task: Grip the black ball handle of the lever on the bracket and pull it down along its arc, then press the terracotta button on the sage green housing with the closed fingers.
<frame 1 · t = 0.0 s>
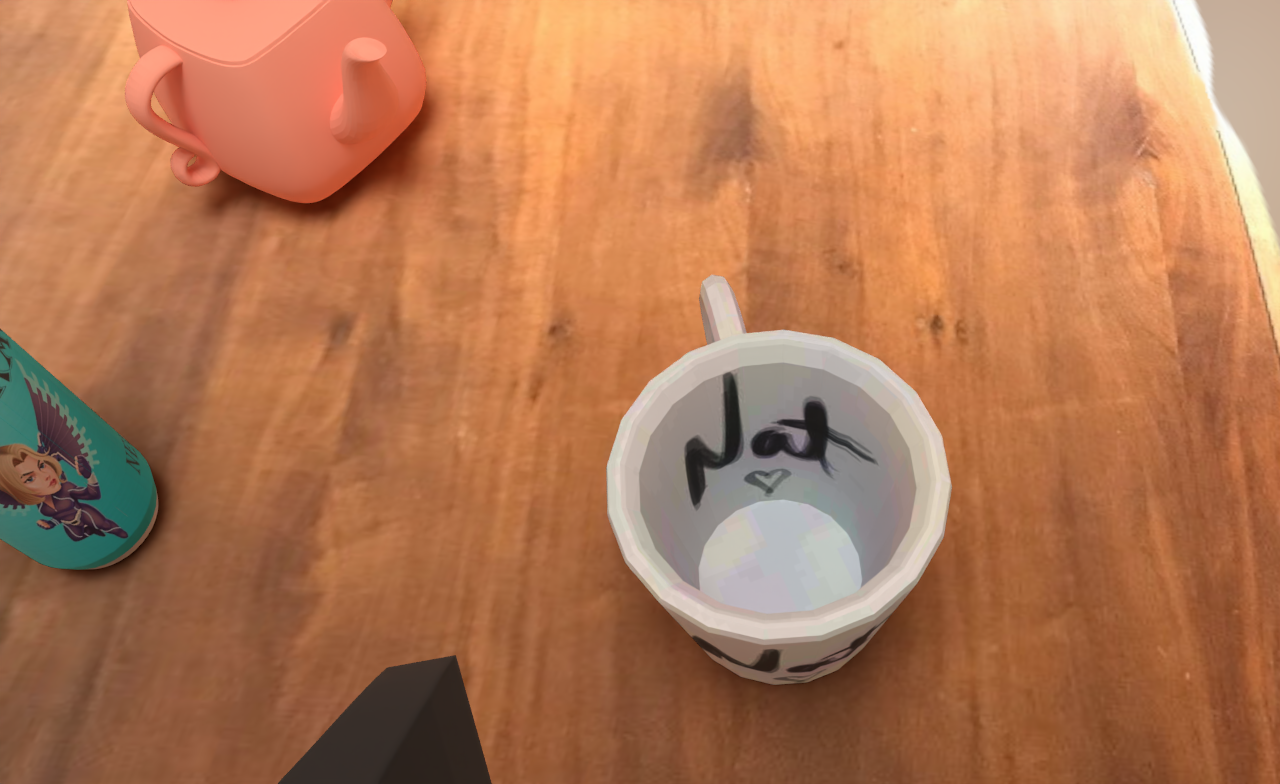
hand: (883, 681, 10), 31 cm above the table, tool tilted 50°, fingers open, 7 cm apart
teapot: (336, 116, 58), on the table
beverage can: (109, 521, 48), on the table
mug: (765, 535, 44), on the table
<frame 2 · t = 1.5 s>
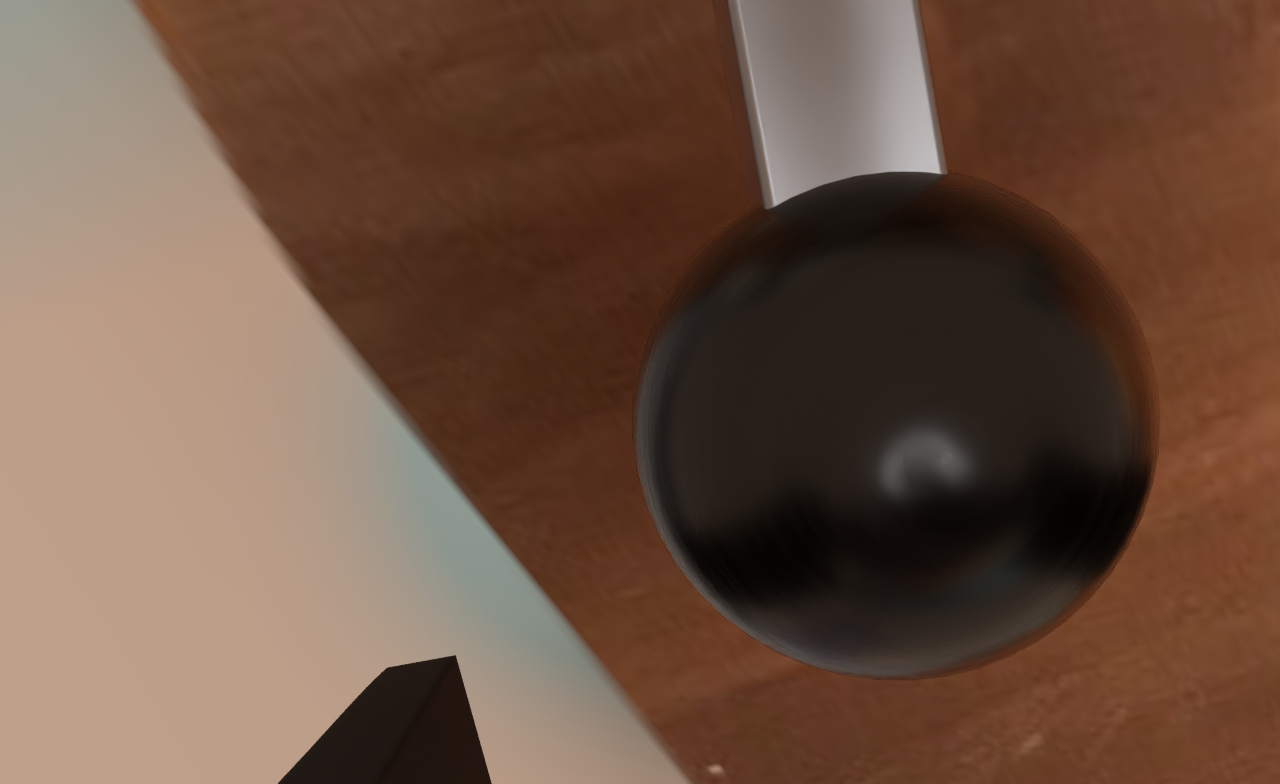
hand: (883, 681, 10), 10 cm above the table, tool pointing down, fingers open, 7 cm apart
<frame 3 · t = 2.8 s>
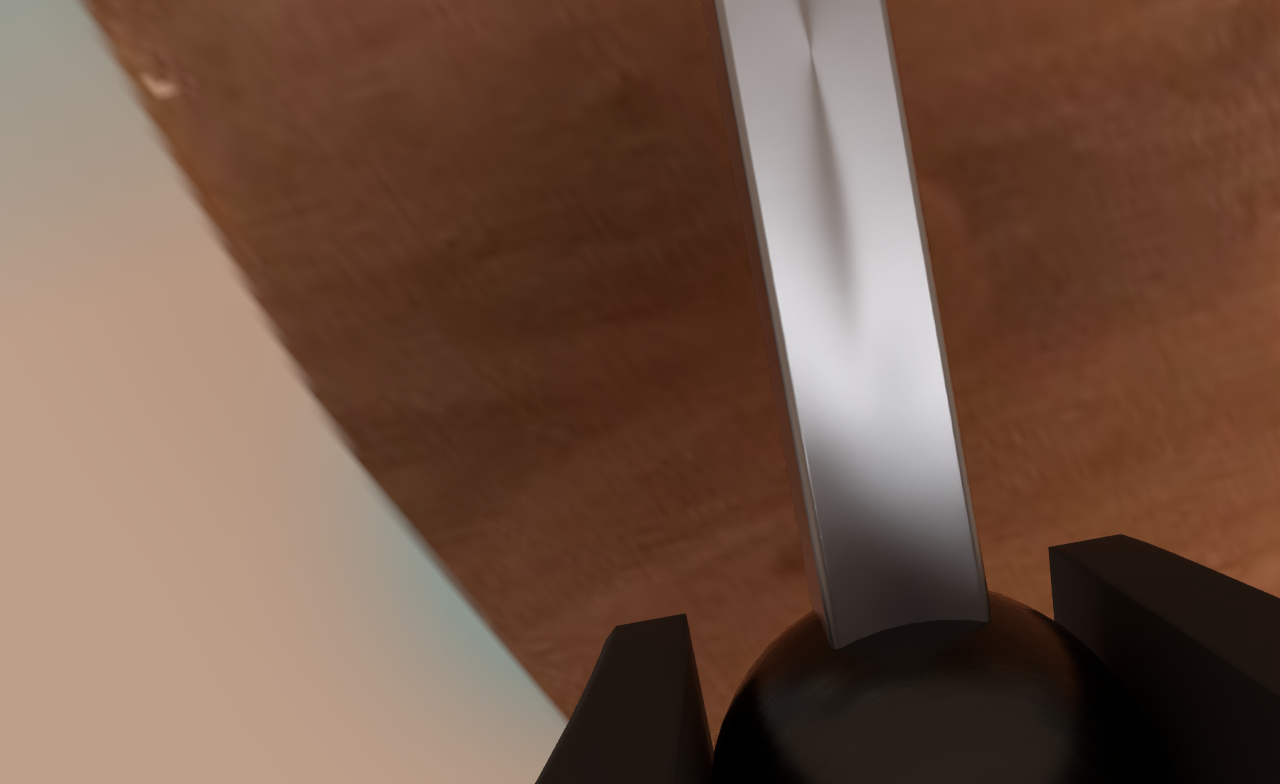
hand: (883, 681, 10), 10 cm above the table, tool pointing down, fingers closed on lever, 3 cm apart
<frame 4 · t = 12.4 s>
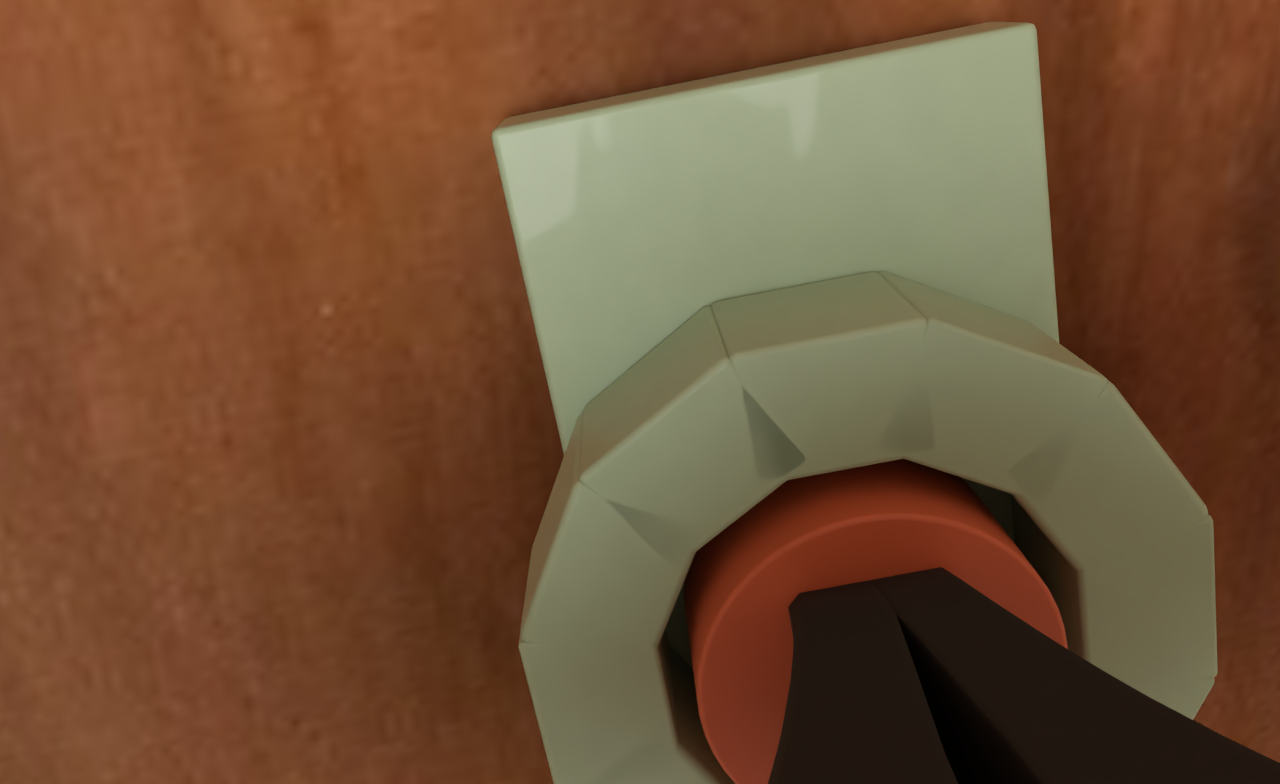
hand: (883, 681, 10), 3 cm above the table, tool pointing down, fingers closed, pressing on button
button: (862, 632, 10), point 2 cm above the table, slide at -0.9 cm, touching gripper
button box: (814, 518, 13), on the table
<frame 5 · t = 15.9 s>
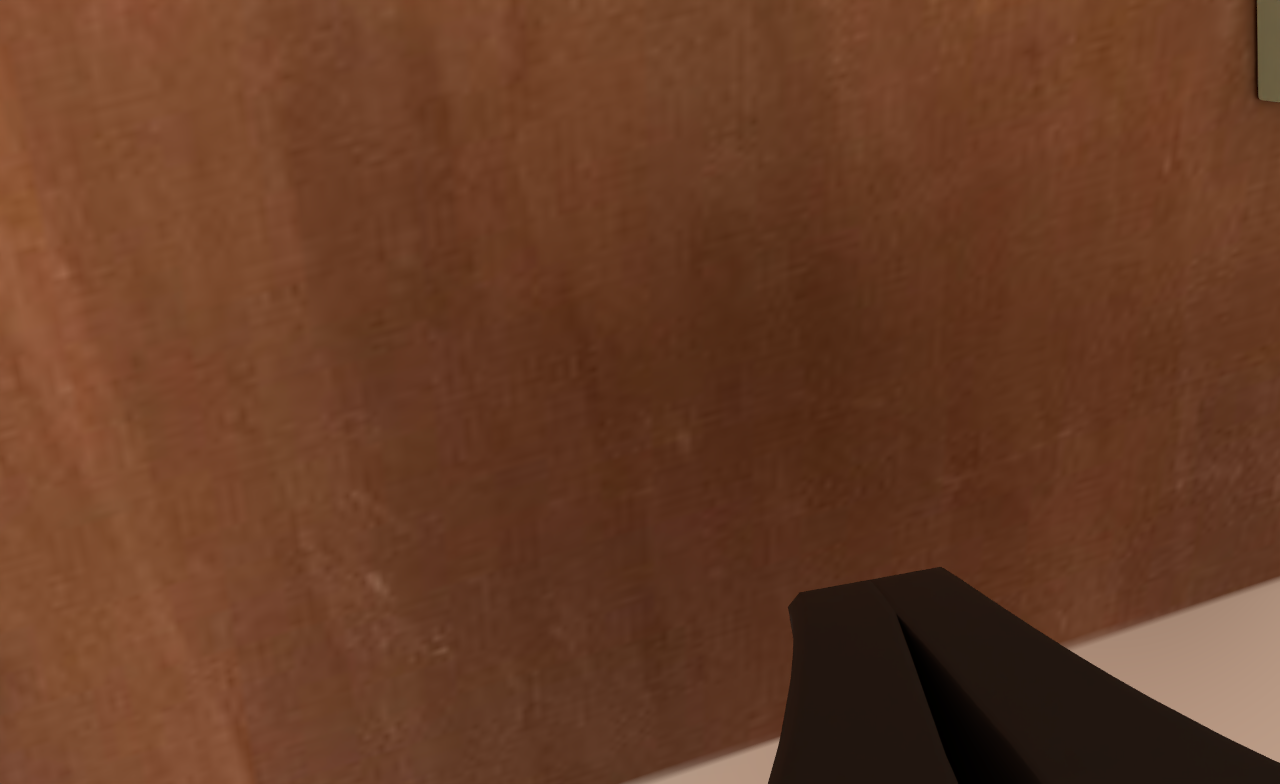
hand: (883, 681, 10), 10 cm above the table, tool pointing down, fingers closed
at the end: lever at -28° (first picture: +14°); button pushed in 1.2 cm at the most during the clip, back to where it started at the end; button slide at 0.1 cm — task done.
